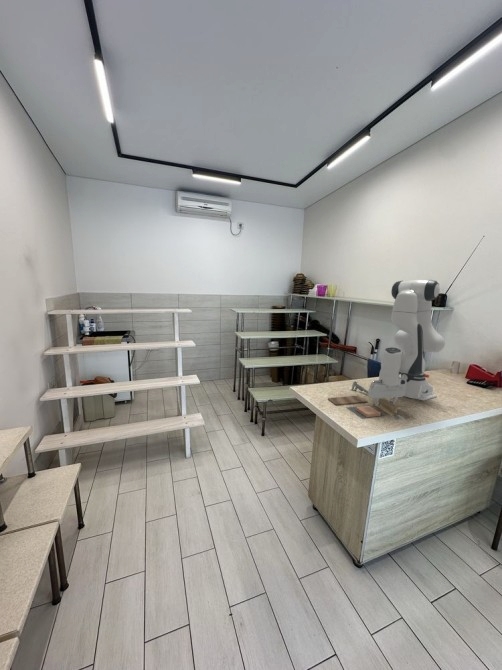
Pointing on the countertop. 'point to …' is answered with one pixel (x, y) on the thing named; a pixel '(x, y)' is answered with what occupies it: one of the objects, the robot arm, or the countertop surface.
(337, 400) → the board
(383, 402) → the scraper
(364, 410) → the tile
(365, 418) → the mat
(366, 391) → the caliper
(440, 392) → the countertop surface
